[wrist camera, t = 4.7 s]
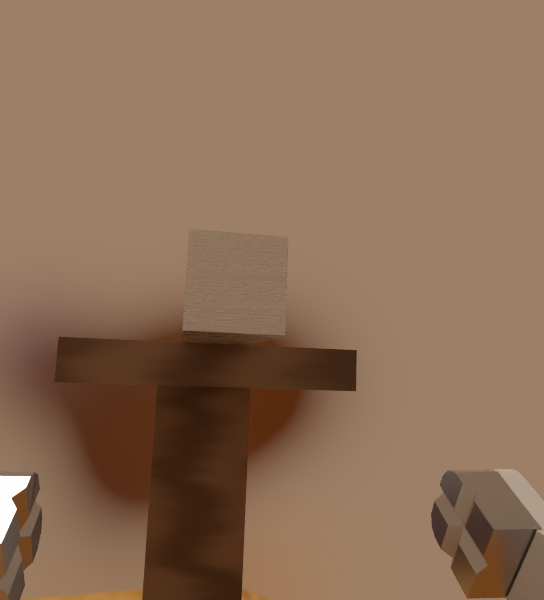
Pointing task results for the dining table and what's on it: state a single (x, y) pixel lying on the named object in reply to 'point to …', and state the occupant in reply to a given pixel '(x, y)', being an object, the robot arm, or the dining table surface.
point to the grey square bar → (234, 288)
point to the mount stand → (200, 444)
